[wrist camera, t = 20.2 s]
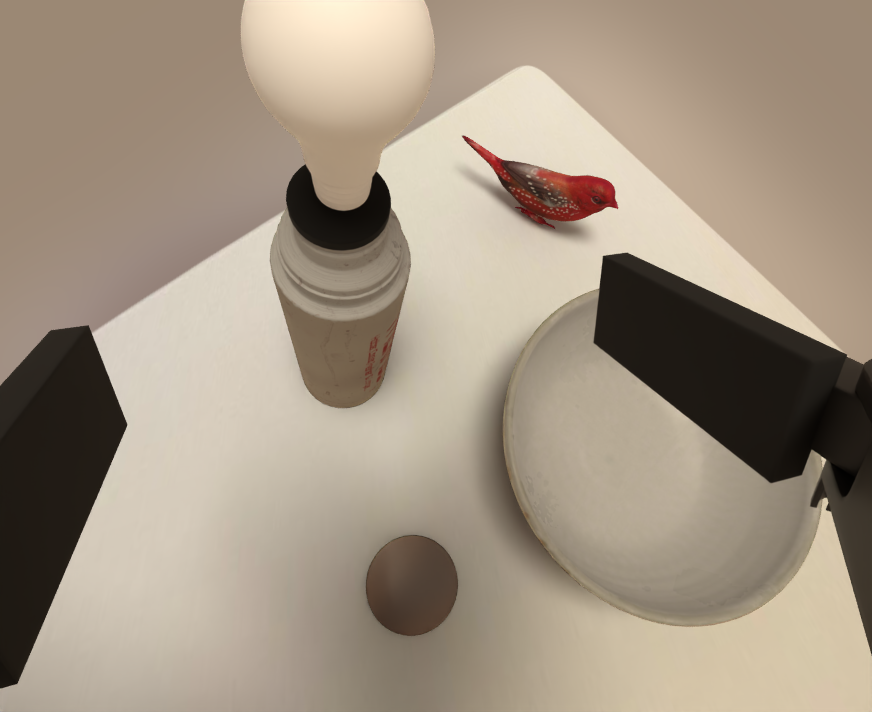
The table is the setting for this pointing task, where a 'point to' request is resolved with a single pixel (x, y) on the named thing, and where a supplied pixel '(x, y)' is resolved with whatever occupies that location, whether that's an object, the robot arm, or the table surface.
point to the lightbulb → (340, 81)
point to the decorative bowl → (644, 487)
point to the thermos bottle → (340, 288)
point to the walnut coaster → (411, 585)
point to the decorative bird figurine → (550, 189)
